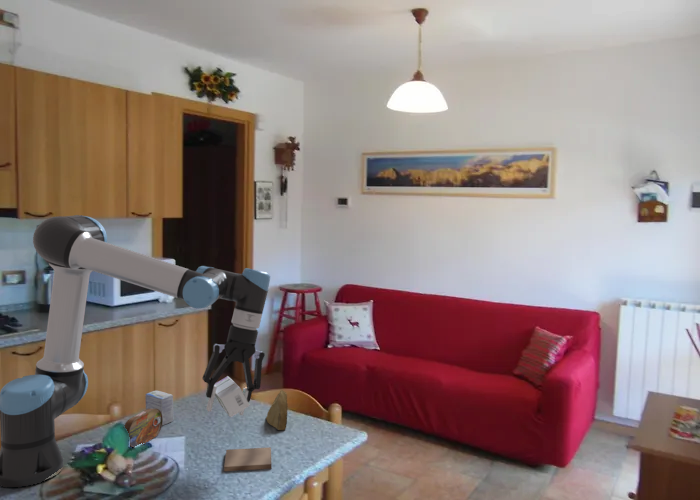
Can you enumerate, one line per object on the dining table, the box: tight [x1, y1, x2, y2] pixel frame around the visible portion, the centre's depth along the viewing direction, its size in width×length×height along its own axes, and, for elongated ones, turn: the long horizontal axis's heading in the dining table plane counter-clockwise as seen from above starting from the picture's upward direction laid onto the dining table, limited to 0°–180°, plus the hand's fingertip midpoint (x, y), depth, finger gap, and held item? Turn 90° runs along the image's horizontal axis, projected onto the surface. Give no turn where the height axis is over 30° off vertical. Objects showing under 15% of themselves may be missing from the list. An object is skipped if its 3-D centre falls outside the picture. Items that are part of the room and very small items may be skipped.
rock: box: [265, 390, 288, 431], centre depth 172 cm, size 11×9×10 cm
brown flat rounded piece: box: [123, 408, 163, 447], centre depth 158 cm, size 15×3×8 cm, turn 163°
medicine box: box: [145, 390, 174, 426], centre depth 173 cm, size 8×4×9 cm, turn 58°
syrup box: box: [215, 375, 251, 418], centre depth 146 cm, size 6×6×14 cm
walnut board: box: [223, 446, 272, 472], centre depth 148 cm, size 12×10×1 cm
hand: (224, 411), depth 146 cm, fingers closed on syrup box, 8 cm apart
